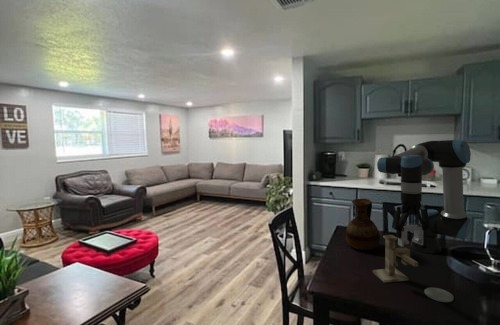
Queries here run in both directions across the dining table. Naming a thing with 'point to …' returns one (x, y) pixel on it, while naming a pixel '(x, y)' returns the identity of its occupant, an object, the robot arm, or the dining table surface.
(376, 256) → the dining table surface
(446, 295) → the felt pad
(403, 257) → the peg stand
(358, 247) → the ceramic pitcher
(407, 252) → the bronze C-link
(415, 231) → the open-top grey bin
